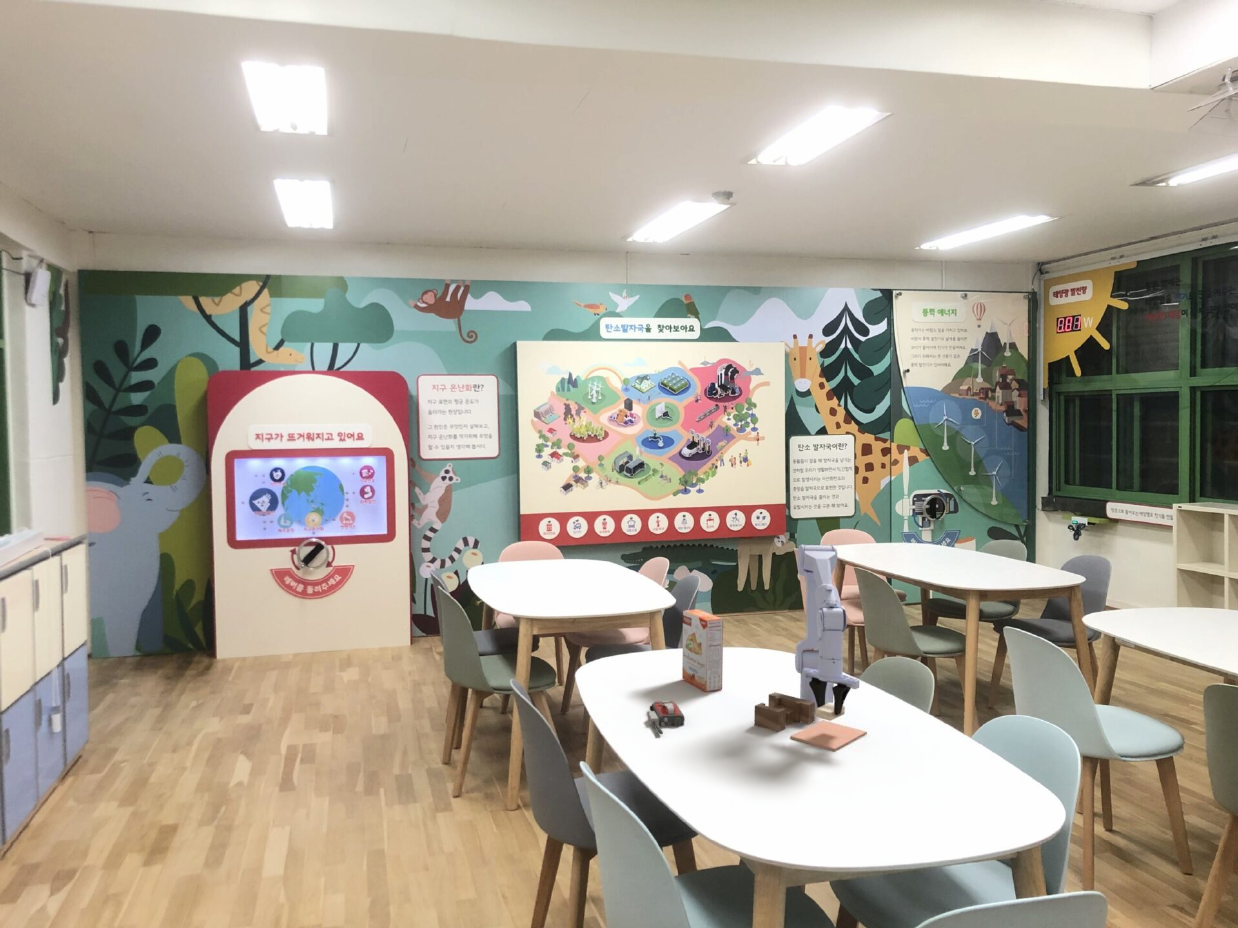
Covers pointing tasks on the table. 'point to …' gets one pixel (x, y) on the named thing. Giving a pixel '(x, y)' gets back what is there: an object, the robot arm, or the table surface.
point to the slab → (828, 712)
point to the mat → (828, 735)
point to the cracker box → (702, 650)
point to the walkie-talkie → (665, 715)
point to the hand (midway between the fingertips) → (829, 711)
